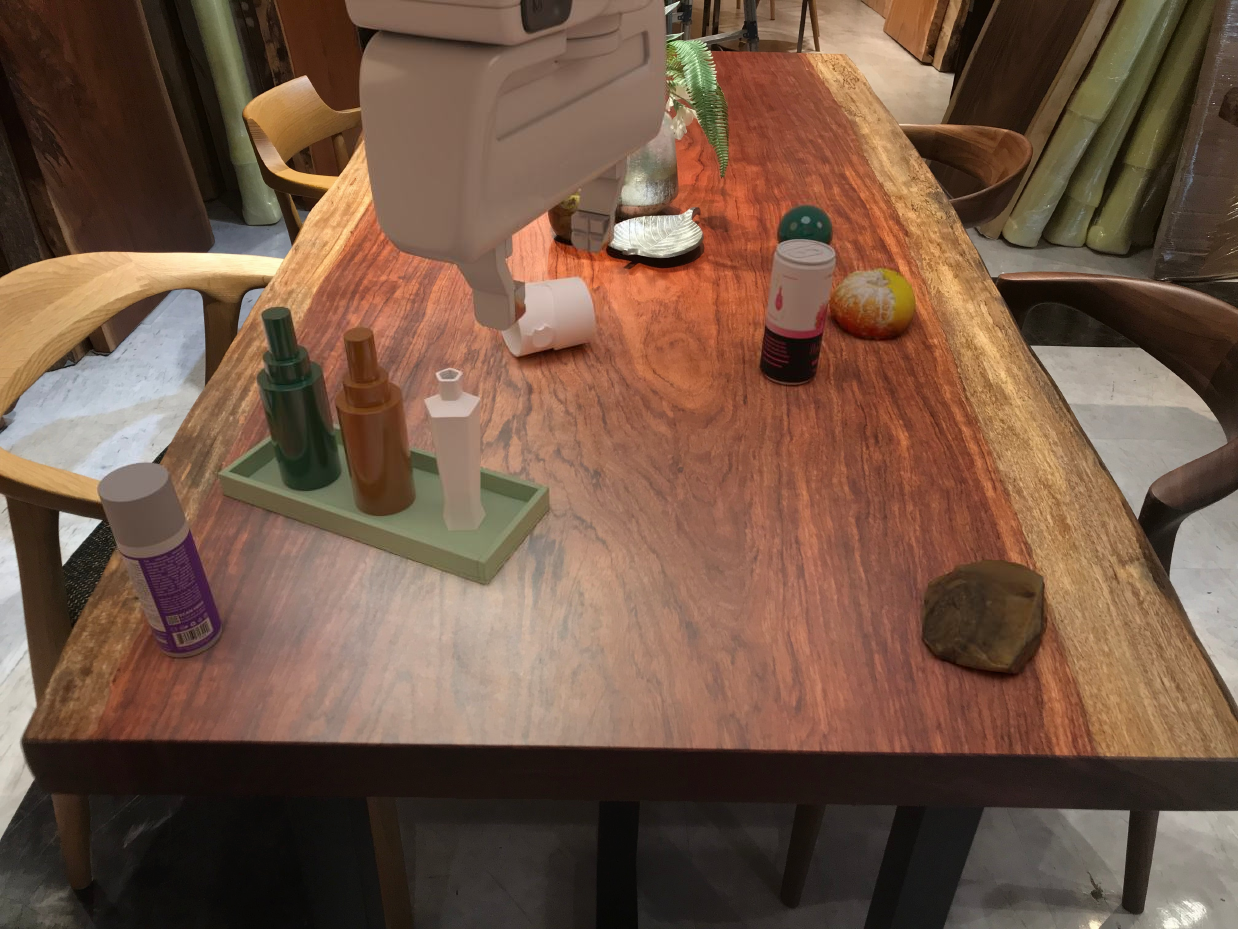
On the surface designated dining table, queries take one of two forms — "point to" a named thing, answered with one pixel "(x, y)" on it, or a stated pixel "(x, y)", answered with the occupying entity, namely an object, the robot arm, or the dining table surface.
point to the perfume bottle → (457, 450)
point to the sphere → (805, 225)
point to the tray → (411, 530)
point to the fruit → (873, 304)
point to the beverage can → (796, 310)
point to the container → (161, 558)
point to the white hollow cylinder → (552, 317)
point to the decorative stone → (986, 615)
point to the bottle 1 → (296, 408)
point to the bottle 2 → (374, 431)
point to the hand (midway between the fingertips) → (550, 281)
